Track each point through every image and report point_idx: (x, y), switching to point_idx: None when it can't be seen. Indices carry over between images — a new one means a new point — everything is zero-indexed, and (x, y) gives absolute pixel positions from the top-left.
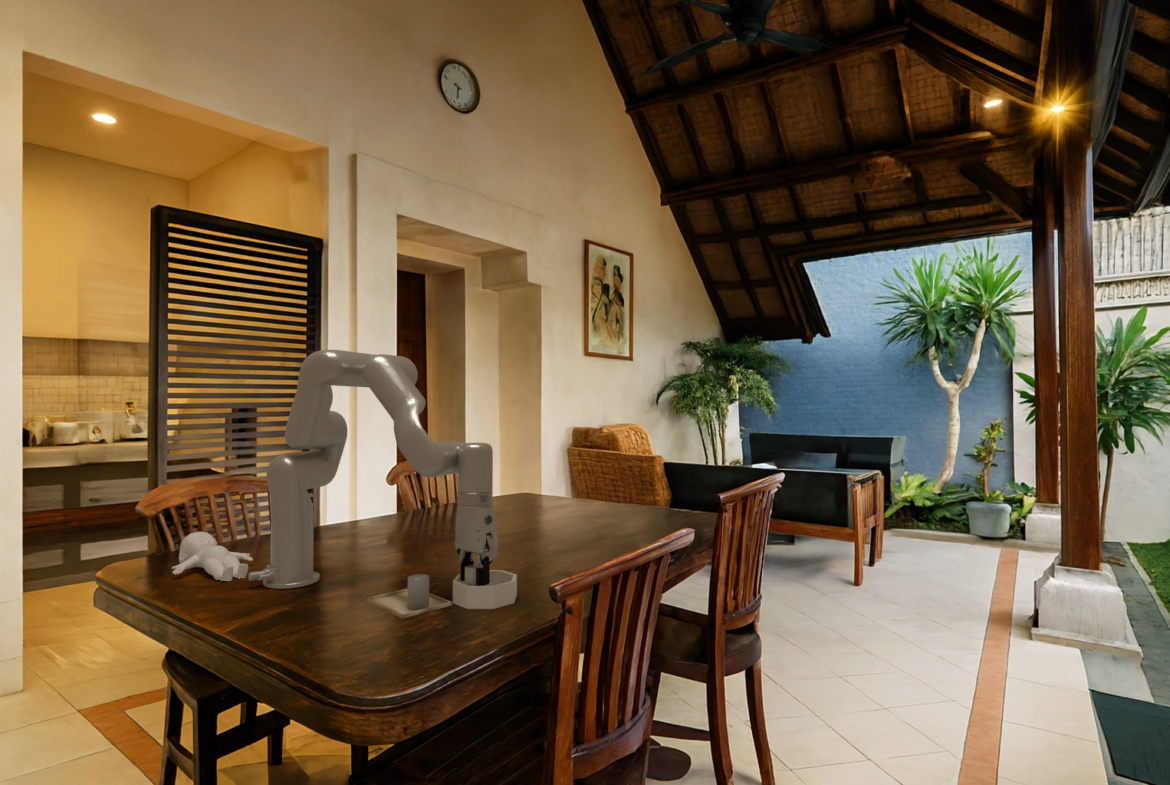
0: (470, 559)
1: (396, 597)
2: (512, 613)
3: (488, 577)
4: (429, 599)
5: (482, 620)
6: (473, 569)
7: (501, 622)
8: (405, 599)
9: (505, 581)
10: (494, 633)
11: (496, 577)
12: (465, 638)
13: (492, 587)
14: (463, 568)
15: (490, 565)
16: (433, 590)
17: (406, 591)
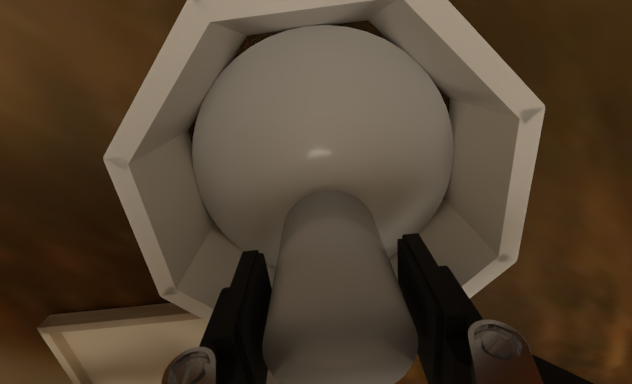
0: (233, 376)
1: (123, 381)
2: (544, 162)
3: (453, 275)
4: (199, 323)
5: (506, 277)
6: (396, 380)
7: (578, 242)
8: (158, 370)
9: (290, 20)
10: (625, 300)
11: (210, 50)
12: (576, 363)
13: (508, 264)
14: (265, 370)
15: (507, 330)
16: (61, 260)
17: (67, 347)
